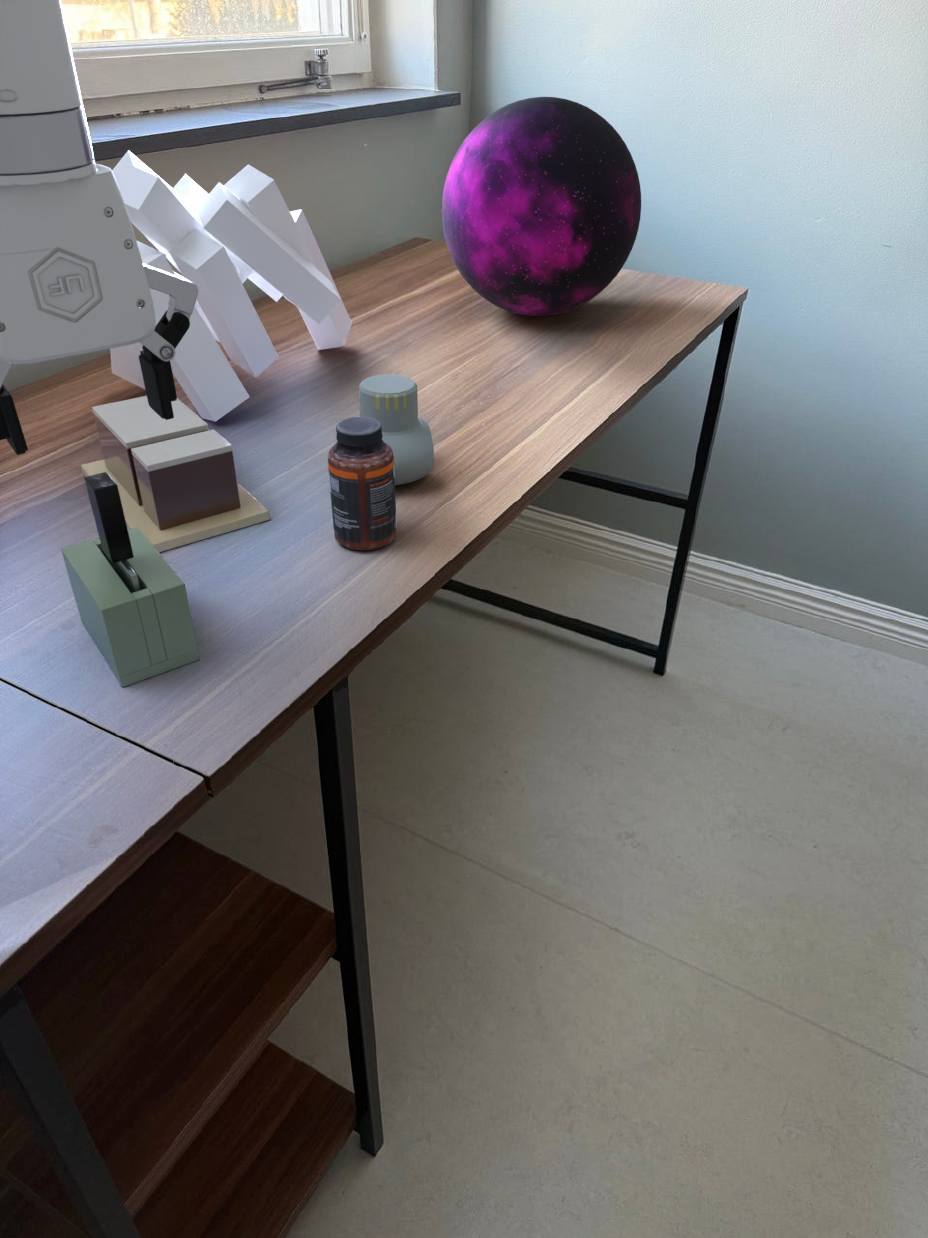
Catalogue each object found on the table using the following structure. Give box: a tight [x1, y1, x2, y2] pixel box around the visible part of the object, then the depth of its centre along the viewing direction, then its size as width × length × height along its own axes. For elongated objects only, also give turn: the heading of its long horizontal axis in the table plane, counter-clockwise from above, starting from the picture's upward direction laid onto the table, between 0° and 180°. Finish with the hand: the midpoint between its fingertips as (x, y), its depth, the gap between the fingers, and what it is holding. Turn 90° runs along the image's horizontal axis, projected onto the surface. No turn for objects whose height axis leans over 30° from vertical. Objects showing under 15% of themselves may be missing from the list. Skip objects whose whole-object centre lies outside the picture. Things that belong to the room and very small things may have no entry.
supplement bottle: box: [327, 416, 398, 551], centre depth 80 cm, size 6×6×11 cm
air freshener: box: [358, 373, 435, 486], centre depth 92 cm, size 11×8×10 cm
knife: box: [83, 472, 140, 594], centre depth 66 cm, size 7×2×13 cm, turn 36°
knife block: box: [60, 527, 200, 688], centre depth 68 cm, size 10×6×7 cm, turn 36°
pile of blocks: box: [109, 149, 353, 423], centre depth 109 cm, size 35×30×35 cm
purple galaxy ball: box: [441, 96, 642, 317], centre depth 134 cm, size 30×30×30 cm
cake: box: [80, 395, 271, 553], centre depth 87 cm, size 12×20×8 cm, turn 36°
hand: (92, 429), depth 60 cm, fingers open, 9 cm apart
